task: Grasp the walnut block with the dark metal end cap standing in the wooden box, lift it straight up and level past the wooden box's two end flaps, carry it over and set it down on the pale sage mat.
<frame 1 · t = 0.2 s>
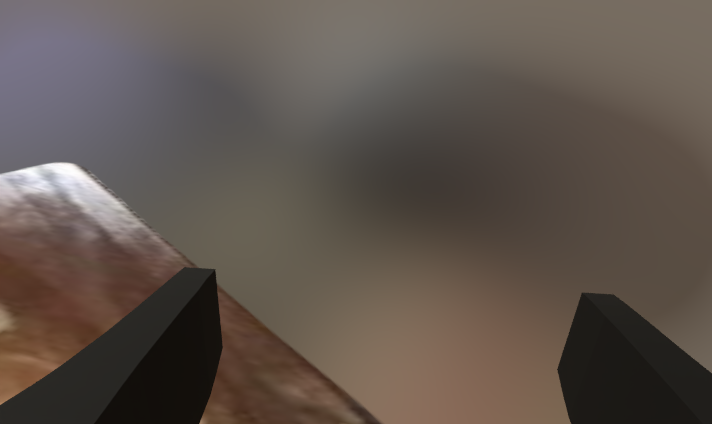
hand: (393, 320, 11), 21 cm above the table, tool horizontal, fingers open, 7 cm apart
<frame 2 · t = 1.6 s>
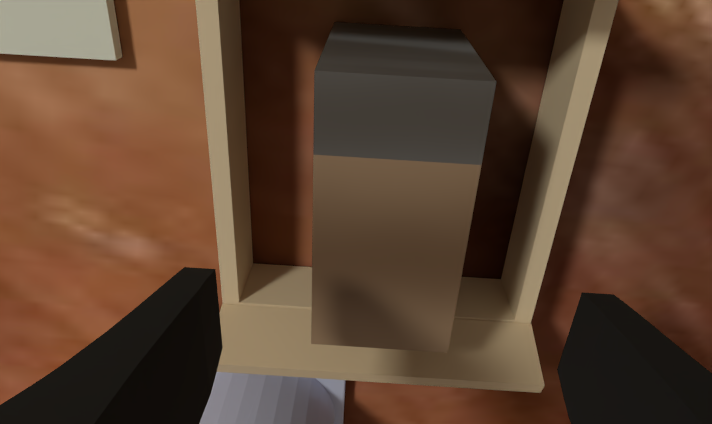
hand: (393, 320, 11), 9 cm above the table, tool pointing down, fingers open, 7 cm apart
wooden box: (387, 143, 19), on the table
block: (387, 143, 19), resting in wooden box
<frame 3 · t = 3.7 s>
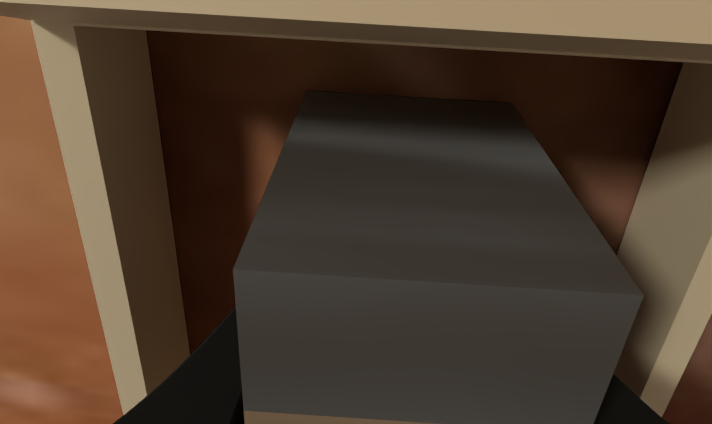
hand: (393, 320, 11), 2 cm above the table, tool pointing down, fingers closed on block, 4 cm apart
wooden box: (391, 266, 12), on the table
block: (391, 265, 12), resting in wooden box, touching gripper
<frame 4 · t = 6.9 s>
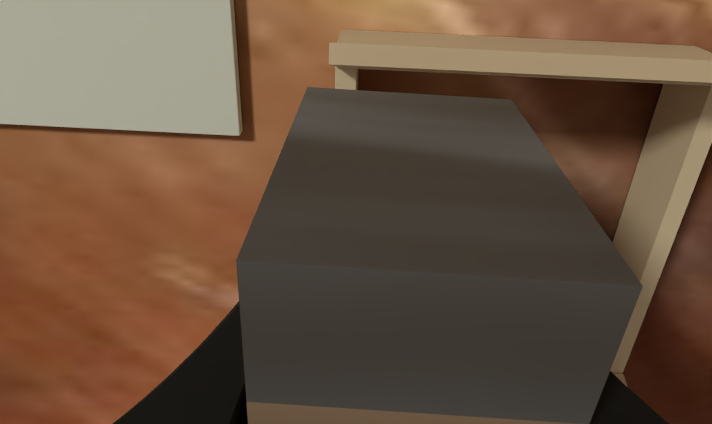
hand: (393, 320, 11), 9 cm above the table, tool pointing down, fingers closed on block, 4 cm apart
wooden box: (487, 206, 20), on the table
block: (392, 261, 12), point 7 cm above the table, touching gripper
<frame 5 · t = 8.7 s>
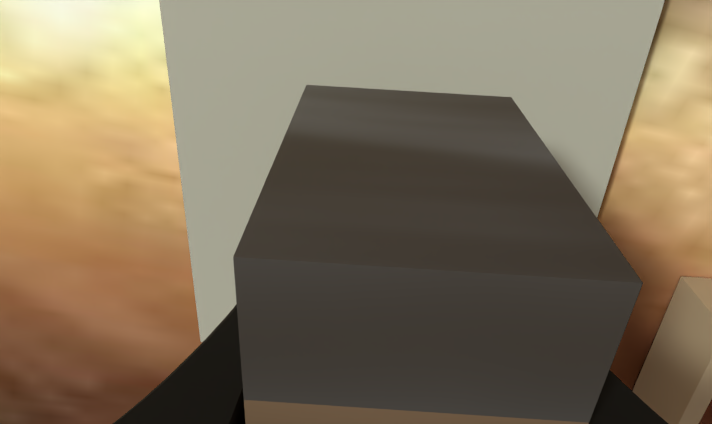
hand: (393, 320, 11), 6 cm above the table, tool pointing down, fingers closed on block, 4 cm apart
block: (391, 260, 12), point 4 cm above the table, touching gripper
mat: (389, 190, 16), on the table
when the fingers open (3 cm above the table, at t = 10.1 s): block stays where it is, resting on mat.
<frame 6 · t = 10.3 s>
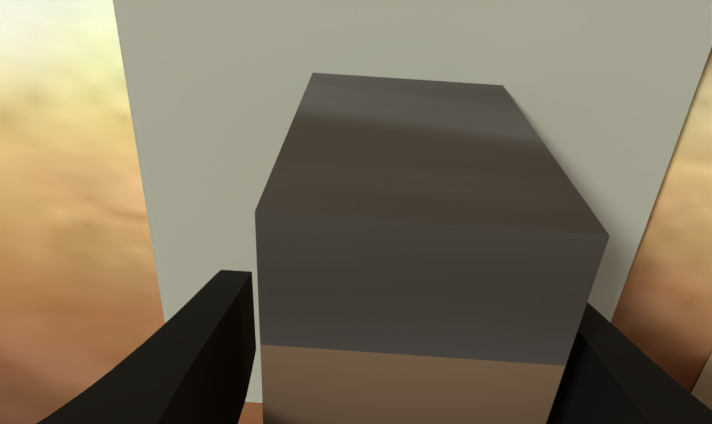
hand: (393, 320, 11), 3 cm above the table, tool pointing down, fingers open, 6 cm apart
block: (390, 239, 13), resting on mat
mat: (390, 232, 14), on the table
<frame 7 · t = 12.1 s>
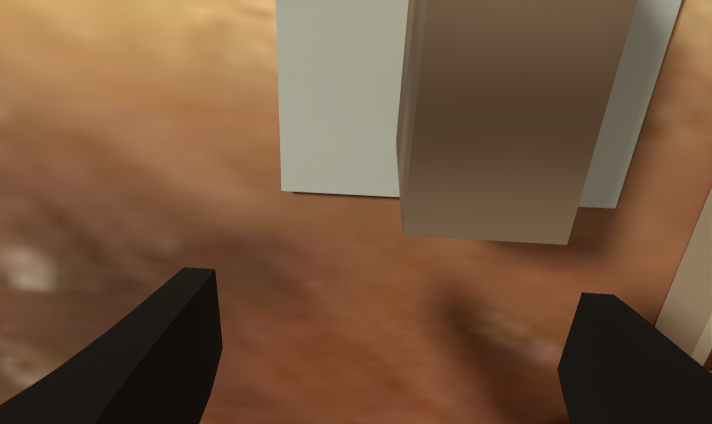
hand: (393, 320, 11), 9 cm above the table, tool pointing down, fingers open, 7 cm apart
block: (472, 23, 16), resting on mat
mat: (470, 23, 17), on the table
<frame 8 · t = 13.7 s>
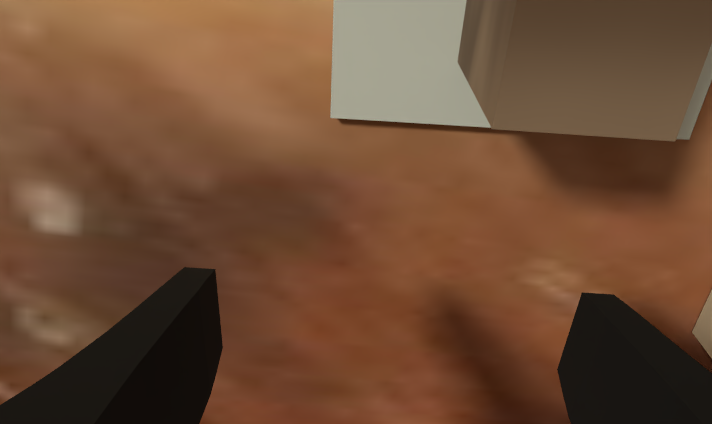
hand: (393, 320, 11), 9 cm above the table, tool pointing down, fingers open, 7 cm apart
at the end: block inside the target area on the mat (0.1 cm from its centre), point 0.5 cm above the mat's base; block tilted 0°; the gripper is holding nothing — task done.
